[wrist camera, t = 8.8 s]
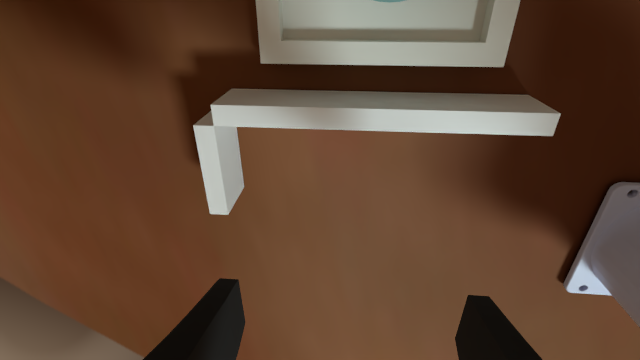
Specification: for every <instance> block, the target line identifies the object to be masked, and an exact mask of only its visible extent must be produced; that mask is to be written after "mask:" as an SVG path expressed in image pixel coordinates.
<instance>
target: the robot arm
mask: <svg viewBox="0 0 640 360" xmlns="http://www.w3.org/2000/svg"><path fill="white" fill-rule="evenodd" d="M631 190H633V191H632V192H631V193H629V194H627V193H628V192H629V191H631ZM563 286H564V288H565V289H566V290H567V291H568V292H571V293H584V294H599V295H612V296H613V297H614V298H615V299H616V301H617V302H618V303H619V304H620V305H621V306H622V308H623V309H624V310H625V311H626V312H627V313H628V315H629V316H630V317H631V318H632V319H633V320H634V322H635V323H636V324H637V325H638V326H639V327H640V183H633V182H619V183H616V184H614V185H612V186H611V187H610V188H609V190H608V192H607V194H606V196H605V198H604V200H603V202H602V204H601V206H600V208H599V211H598V213H597V215H596V217H595V219H594V221H593V223H592V225H591V227H590V229H589V231H588V233H587V236H586V238H585V240H584V242H583V244H582V246H581V248H580V250H579V252H578V254H577V256H576V259H575V261H574V263H573V265H572V267H571V269H570V271H569V273H568V275H567V277H566V279H565V281H564V284H563ZM244 326H245V318H244V311H243V305H242V299H241V293H240V287H239V281H238V280H236V279H221V278H220V279H219V280H218V281H217V282H216V283H215V284H214V285H213V286H212V287H211V288H210V290H209V291H208V292H207V293H206V294H205V295H204V296H203V298H202V299H201V300H200V301H199V302H198V303H197V304H196V305H195V307H194V308H193V309H192V310H191V311H190V312H189V313H188V314H187V315H186V316H185V317H184V319H183V320H182V321H181V322H180V323H179V324H178V325H177V326H176V327H175V328H174V329H173V330H172V331H171V332H170V333H169V334H168V335H167V336H166V337H165V338H164V339H163V340H162V341H161V342H160V343H159V344H158V345H157V346H156V347H155V348H154V349H153V350H152V351H151V352H150V353H149V354H148V355H147V356H146V357H145V358H144V359H143V360H236V357H237V354H238V350H239V346H240V342H241V338H242V334H243V330H244ZM455 341H456V346H457V351H458V357H459V360H542V359H541V357H540V356H539V355H538V354H537V353H536V352H535V351H534V350H533V348H532V347H531V346H530V345H529V344H528V343H527V341H526V340H525V339H524V338H523V337H522V336H521V334H520V333H519V332H518V331H517V330H516V328H515V327H514V326H513V325H512V324H511V322H510V321H509V320H508V319H507V318H506V316H505V315H504V314H503V313H502V312H501V310H500V309H499V308H498V307H497V306H496V304H495V303H494V302H493V301H492V300H491V298H490V297H489V296H474V295H468V297H467V300H466V304H465V307H464V310H463V314H462V317H461V320H460V324H459V327H458V331H457V334H456V337H455Z"/></svg>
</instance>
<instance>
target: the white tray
mask: <svg viewBox="0 0 640 360" xmlns="http://www.w3.org/2000/svg"><path fill="white" fill-rule="evenodd" d="M519 4H520V0H405V1H401V2H390V3H389V2H378V1H374V0H256V12H257V24H258V36H259V48H260V60H261V64H323V65H391V66H458V67H504V64H505V60H506V56H507V52H508V48H509V44H510V40H511V36H512V32H513V28H514V24H515V20H516V16H517V12H518V8H519Z"/></svg>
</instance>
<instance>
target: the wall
mask: <svg viewBox="0 0 640 360" xmlns="http://www.w3.org/2000/svg"><path fill="white" fill-rule="evenodd" d="M210 106H211V111H210V112H209V113H208V114H206V115H205V116H204V117H203V118H201V119H200V120H199V121H198V122H197V123H195V124H194V125H193V128H194V133H195V138H196V143H197V149H198V154H199V159H200V164H201V169H202V175H203V180H204V185H205V190H206V195H207V200H208V206H209V211H210V214H223V215H228V214H229V212H230V211H231V209H232V207H233V205H234V204H235V202H236V200H237V198H238V197H239V195H240V193H241V192H242V190H243V188H244V182H243V174H242V166H241V158H240V150H239V142H238V135H237V127H264V128H297V129H330V130H364V131H397V132H430V133H463V134H496V135H529V136H553V135H554V132H555V129H556V126H557V123H558V120H559V118H560V115H561V113H559V112H557V111H556V110H554V109H552V108H550V107H549V106H547V105H545V104H543V103H542V102H540V101H538V100H537V99H535V98H533V97H531V96H530V95H515V94H467V93H419V92H372V91H324V90H277V89H230V90H229V91H228V92H226V93H225V94H224V95H223V96H221V97H220V98H219V99H217V100H216V101H215V102H213V103H212V104H211V105H210Z"/></svg>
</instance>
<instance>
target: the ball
mask: <svg viewBox="0 0 640 360" xmlns="http://www.w3.org/2000/svg"><path fill="white" fill-rule="evenodd" d="M374 1H378V2H389V3H390V2H401V1H405V0H374Z"/></svg>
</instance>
